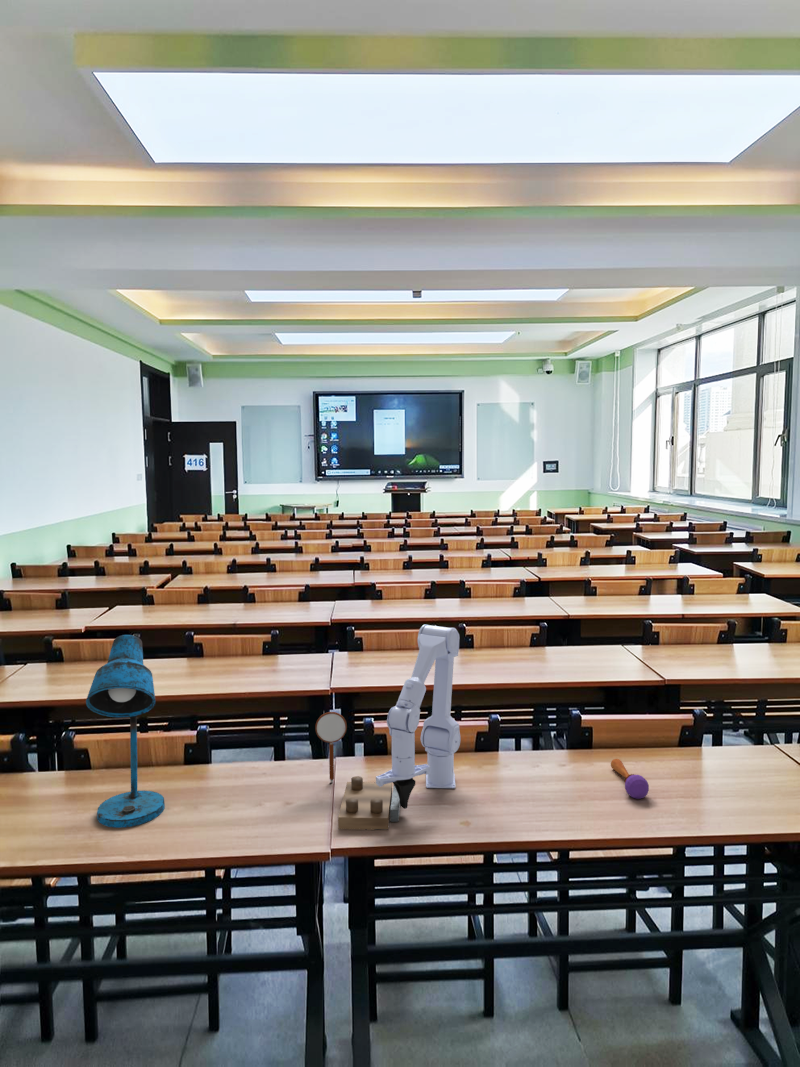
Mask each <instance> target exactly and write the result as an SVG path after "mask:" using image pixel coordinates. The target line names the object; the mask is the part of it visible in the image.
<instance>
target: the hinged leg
mask: <svg viewBox="0 0 800 1067" xmlns="http://www.w3.org/2000/svg"><path fill="white" fill-rule="evenodd" d="M400 809H401V806H400V799H399V795H398V792H397V790H396V788H395V786H394V785H392V799H391V808H390V818H389V823H390V822H391V823H392V822H394V823H395V822H397V823H398V822H399V821H400V811H401V810H400Z"/></svg>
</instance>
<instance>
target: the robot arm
mask: <svg viewBox="0 0 800 1067" xmlns="http://www.w3.org/2000/svg"><path fill="white" fill-rule="evenodd" d="M417 645H418V653H417V657H416V660H415V662H414V663H415V664H414V666H413V671H412V674H411V677H409V678H408V679H406V680H405V681H404V684H403V686H402V688H401V692H400V694H399V696H398V699H397V701H396V704H395V706H392V707H391V708H390V709H389V711H388V714H387V717H386V718H387V719H386V725H387V728H388V730H389V732H388V733H389V736H390V737H391V769H390V770H388V771H386V772H384V773H382V774H380V775H376V776H375V782H376V784H377V785H378V786H379V787H381V786H383V785H384V784H387V783H392V785H393V786H395V788H396V790H397V792H398V795H399V799H400V808H402V809H404V810H405V809H407V808H408V806H409V804H408V803H409V799H410V796H411V794H412V792H413V789H414V788H415V786H416V780H415V779H414V778H415V777H418V776H421V775H425V787H426V789H456V775H455V772H454V770H455V769H454V768H455V767H454V766H455V764H454V762H455V761H454V760H455V759H454V758H455V757H454V756H455V753H456V752H457V751H458V750H459V748H460V745H461V738H462V737H461V732H460V724H459V722H457V721H456V720H455V719H454V717H452V716H451V709H452V694H453V693H452V692H453V677H454V662H455V657H458V656H459V651H460V633H459V631H458V630H457V628H456V627H446V626H438V625H430V624H427V623H426V624H423V625H422V626H421V627H420V628H419V629H418V633H417ZM434 663H435V665H434ZM433 665H434V678H433V679H434V680H433V691H432V692H433V695H432V708H431V709H432V710H431V711H432V712H431V715H430V716H428V717H427V718H426V719H425V720H423V725H422V730H421V733H420V743H421V746H422V747H424V751H425V752H426V754H427V756H426V757H427V763H424V764H418V765H416V764H415V762H416V761H415V760H416V758H415V755H416V753H415V752H416V751H415V750H416V749H415V748H416V744H415V743H416V742H415V741H416V739H415V738H416V737H415V731H416V730H417V729H418V726H419V724H420V714H421V709H420V708H421V706H422V702H423V700H424V696H425V693H426V691H427V687H426V685H425V682H426V680H427V678H428V676H429V673H430V671H431V669H432V667H433Z"/></svg>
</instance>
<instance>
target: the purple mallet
mask: <svg viewBox="0 0 800 1067" xmlns="http://www.w3.org/2000/svg"><path fill="white" fill-rule="evenodd" d="M610 767H611V769H613V770H614V771H615V772H616V773H618V774H619V775H621V776H622V777H623V778H625V779H624V790H625V791H626V794H628V795H629V796H630V797H631V798H633V799H640V800H641V799H643V798H645V797H646V796H647V795H648V794H649V790H650V787H649V782H648V781H647V780H646V778H645V777H644V776H642V775H640V774H634V773H633V774H632V773H631V774H629V772H628V770H627V768H626V766H625V765H624V763H623V762H622V760H621V759H620V758H614V759H612V760H611V762H610Z"/></svg>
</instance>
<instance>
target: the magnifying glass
mask: <svg viewBox="0 0 800 1067" xmlns="http://www.w3.org/2000/svg"><path fill="white" fill-rule="evenodd" d="M314 727H315V733H316V735H317V737H318V738H319V740H321V741H322V742H324V743H329V744H328V746H329V747H328V748H329V749H328V751H329V753H328V756H329V759H328V760H329V761H328V762H329V763H328V764H329V781H330V783H334V779H335V764H334V762H335V761H334V760H335V759H334V758H335V756H334V754H335V753H334V750H335V749H334V746H335V745H334V743H336V742H339V741H341V740H342V738H344V736H345V734H347V730H348V729H347V728H348V725H347V720H346V719H345V717H344V716H343V715H342V714H340V713H338V712H335V711H328V712H325V713H323V714H321V715H320V716H319V717H318V719H317V720H316V723H315V725H314Z"/></svg>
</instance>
